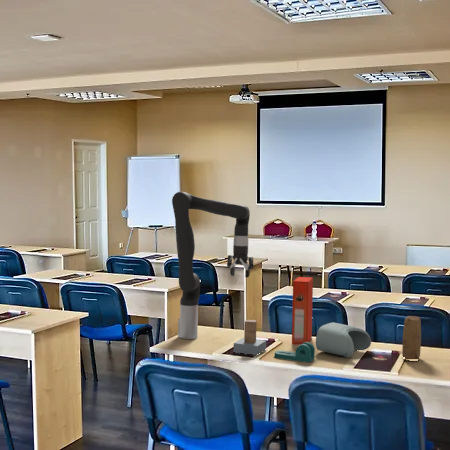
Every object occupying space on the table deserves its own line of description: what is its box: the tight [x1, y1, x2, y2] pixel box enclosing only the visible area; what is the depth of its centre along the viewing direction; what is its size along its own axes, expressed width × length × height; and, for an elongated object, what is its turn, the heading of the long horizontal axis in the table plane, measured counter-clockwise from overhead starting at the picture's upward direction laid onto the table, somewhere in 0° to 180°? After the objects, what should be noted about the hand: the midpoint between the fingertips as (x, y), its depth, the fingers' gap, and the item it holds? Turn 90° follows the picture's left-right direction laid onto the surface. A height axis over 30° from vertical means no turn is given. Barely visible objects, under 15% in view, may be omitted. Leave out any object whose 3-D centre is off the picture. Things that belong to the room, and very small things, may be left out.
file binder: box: [291, 276, 314, 346], centre depth 332 cm, size 8×17×32 cm, turn 165°
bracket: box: [274, 341, 316, 364], centre depth 298 cm, size 18×7×8 cm, turn 64°
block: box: [401, 315, 422, 360], centre depth 301 cm, size 11×8×20 cm
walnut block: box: [243, 319, 257, 343], centre depth 309 cm, size 5×5×10 cm
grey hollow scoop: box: [315, 321, 372, 358], centre depth 310 cm, size 22×19×13 cm
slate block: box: [232, 337, 267, 356], centre depth 309 cm, size 12×12×5 cm
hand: (239, 276), depth 329 cm, fingers open, 8 cm apart
